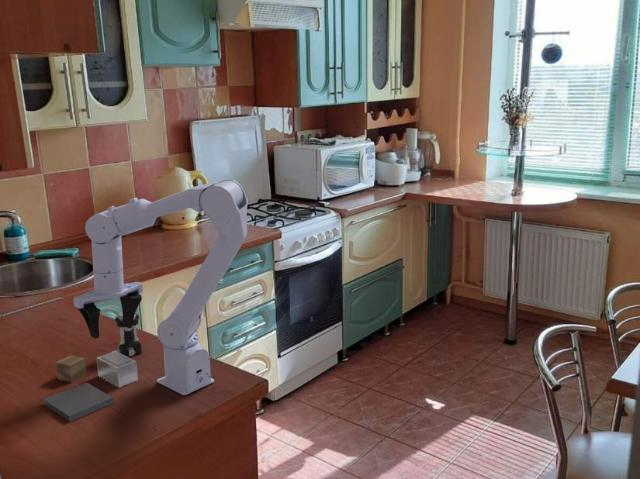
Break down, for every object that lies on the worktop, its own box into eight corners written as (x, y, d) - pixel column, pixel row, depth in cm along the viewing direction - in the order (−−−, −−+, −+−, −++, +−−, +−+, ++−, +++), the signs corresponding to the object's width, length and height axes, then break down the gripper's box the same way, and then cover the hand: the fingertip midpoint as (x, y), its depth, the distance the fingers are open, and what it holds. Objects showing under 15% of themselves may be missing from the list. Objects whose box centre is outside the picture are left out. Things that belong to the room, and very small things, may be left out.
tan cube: (86, 375, 130) (84, 358, 129) (71, 383, 127) (69, 365, 126) (72, 371, 132) (70, 354, 131) (58, 379, 128) (56, 362, 128)
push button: (115, 362, 136) (111, 320, 134) (109, 353, 141) (106, 313, 138) (145, 355, 140) (141, 314, 138) (138, 347, 144) (135, 307, 142)
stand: (113, 403, 118) (113, 397, 118) (69, 421, 112) (69, 416, 111) (87, 387, 125) (86, 382, 124) (44, 404, 118) (43, 398, 118)
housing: (138, 380, 128) (136, 359, 127) (119, 388, 125) (117, 367, 123) (117, 369, 133) (115, 349, 132) (98, 377, 130) (96, 356, 128)
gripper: (128, 259, 131) (131, 317, 134) (64, 272, 120) (68, 336, 124) (147, 265, 127) (149, 326, 130) (82, 280, 116) (86, 346, 119)
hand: (111, 331), depth 126 cm, fingers open, 7 cm apart
